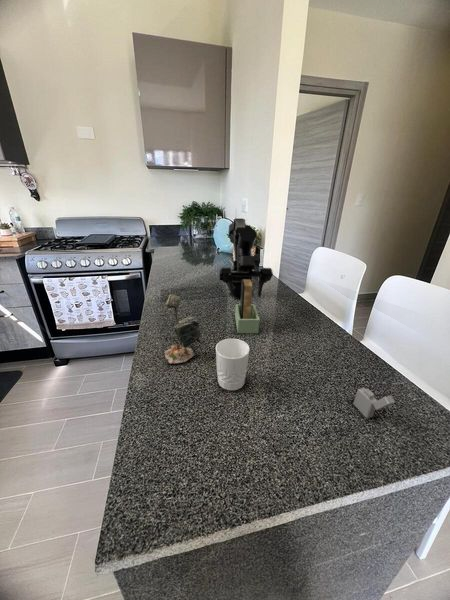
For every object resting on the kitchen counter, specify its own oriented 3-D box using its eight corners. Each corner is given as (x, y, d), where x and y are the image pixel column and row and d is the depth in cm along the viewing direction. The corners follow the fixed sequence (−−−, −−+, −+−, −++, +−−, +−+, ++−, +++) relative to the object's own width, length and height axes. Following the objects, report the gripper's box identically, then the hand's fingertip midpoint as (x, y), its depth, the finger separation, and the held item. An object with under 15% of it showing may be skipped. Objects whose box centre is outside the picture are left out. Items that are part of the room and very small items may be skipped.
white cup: (250, 374, 65) (253, 342, 60) (242, 396, 58) (244, 362, 54) (221, 367, 67) (222, 335, 63) (210, 387, 60) (210, 353, 56)
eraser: (240, 327, 85) (242, 285, 78) (239, 318, 90) (241, 279, 84) (249, 327, 85) (252, 286, 78) (247, 318, 90) (250, 279, 84)
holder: (235, 316, 93) (235, 304, 90) (253, 316, 93) (254, 304, 91) (237, 333, 82) (238, 319, 80) (258, 333, 82) (259, 319, 80)
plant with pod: (205, 361, 69) (204, 295, 60) (163, 366, 67) (156, 298, 58) (201, 344, 76) (199, 283, 68) (163, 348, 74) (156, 285, 65)
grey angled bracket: (352, 403, 57) (361, 376, 53) (359, 401, 57) (368, 374, 54) (377, 430, 51) (389, 401, 47) (384, 428, 51) (396, 399, 48)
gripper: (220, 244, 84) (220, 287, 79) (274, 245, 85) (278, 287, 80) (219, 260, 95) (219, 299, 90) (268, 261, 96) (271, 299, 90)
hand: (246, 296), depth 87 cm, fingers open, 9 cm apart
